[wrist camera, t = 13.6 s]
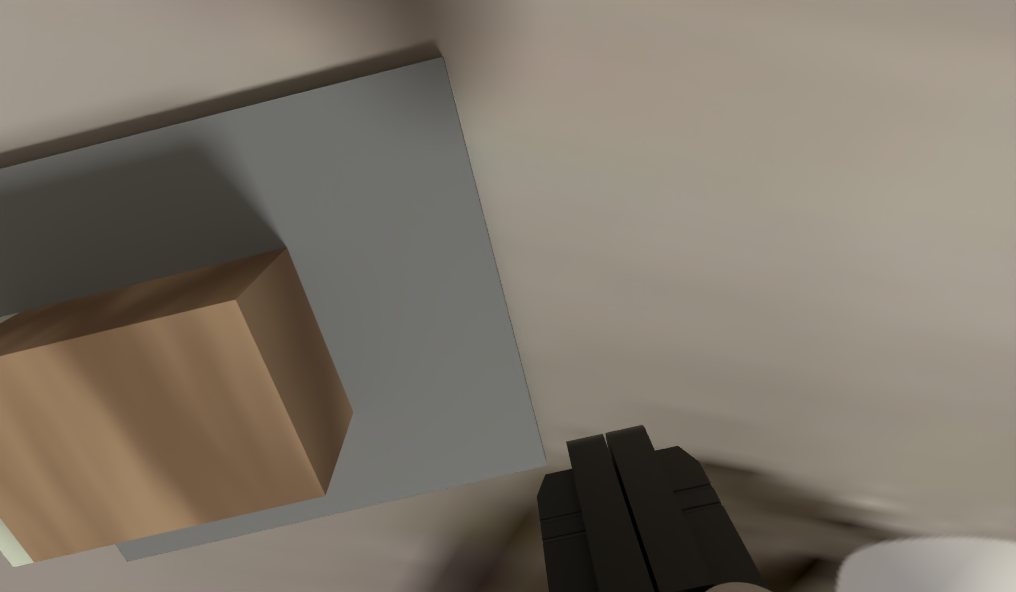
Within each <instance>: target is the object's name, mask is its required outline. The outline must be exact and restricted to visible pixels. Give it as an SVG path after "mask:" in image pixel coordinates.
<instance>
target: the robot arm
mask: <svg viewBox="0 0 1016 592" xmlns="http://www.w3.org/2000/svg"><path fill="white" fill-rule="evenodd" d="M606 441H607V445H606V442H605V438H604V436H603V434H599V435H595V436H590V437H586V438H581V439H576V440H572V441H567V442H566V443H567V447H568V452H569V457H570V461H571V466H572V469H569V470H565V471H560V472H555V473H551V474H546V475H545V477H544V480H543V482H542V485H541V487H540V490H539V493H538V495H537V501H538V508H539V516H540V522H541V532H542V540H543V548H544V556H545V564H546V572H547V580H548V588H549V592H773V591H772V590H771V589H770V588H769V587H768V585H767V584H766V583H765V581H764V580H763V578H762V577H761V575H760V573H759V571H758V569H757V567H756V566H755V564H754V562H753V560H752V558H751V556H750V555H749V553H748V551H747V549H746V547H745V545H744V544H743V542H742V540H741V538H740V536H739V534H738V532H737V531H736V529H735V527H734V525H733V523H732V521H731V520H730V518H729V516H728V514H727V512H726V510H725V509H724V507H723V506H722V505H721V501H720V499H719V498H718V496H717V494H716V492H715V490H714V488H712V486H711V483H710V481H709V479H708V477H707V475H706V474H705V472H704V470H703V468H702V466H701V464H700V463H699V461H697V460H696V459H695V458H693V457H692V456H691V455H689V454H688V453H687V452H685V451H684V450H683V449H682V448H680V447H679V446H675V447H670V448H666V449H661V450H656V451H655V450H654V448H653V445H652V443H651V441H650V439H649V436H648V434H647V432H646V430H645V428H644V426H643V425H640V426H635V427H631V428H626V429H622V430H617V431H612V432H608V433H606ZM607 446H608V448H607Z"/></svg>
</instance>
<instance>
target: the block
mask: <svg viewBox="0 0 1016 592" xmlns="http://www.w3.org/2000/svg"><path fill="white" fill-rule="evenodd" d="M352 415H353V410H352V407H351V405H350V402H349V400H348V397H347V395H346V392H345V390H344V387H343V385H342V383H341V380H340V378H339V375H338V373H337V370H336V368H335V365H334V363H333V360H332V358H331V355H330V353H329V350H328V348H327V345H326V343H325V340H324V338H323V335H322V333H321V330H320V328H319V325H318V323H317V321H316V318H315V316H314V313H313V311H312V308H311V306H310V303H309V301H308V298H307V296H306V293H305V291H304V288H303V286H302V283H301V281H300V278H299V276H298V273H297V271H296V268H295V266H294V263H293V261H292V258H291V256H290V254H289V251H288V249H287V248H283V249H279V250H275V251H271V252H267V253H263V254H259V255H254V256H250V257H246V258H242V259H238V260H234V261H230V262H226V263H221V264H217V265H213V266H209V267H205V268H201V269H197V270H193V271H188V272H184V273H180V274H176V275H172V276H168V277H164V278H160V279H155V280H151V281H147V282H143V283H139V284H135V285H131V286H127V287H122V288H118V289H114V290H110V291H106V292H102V293H98V294H93V295H89V296H85V297H81V298H77V299H73V300H69V301H65V302H60V303H56V304H52V305H48V306H44V307H40V308H36V309H32V310H27V311H23V312H19V313H15V314H11V315H7V316H3V317H0V551H1V552H2V553H3V554H4V556H5V557H6V558H7V559H8V561H9V562H10V563H11V564H12V566H13V567H16V566H20V565H25V564H29V563H33V562H38V561H42V560H47V559H51V558H55V557H60V556H64V555H69V554H73V553H77V552H82V551H86V550H90V549H95V548H99V547H104V546H108V545H112V544H117V543H121V542H126V541H130V540H134V539H139V538H143V537H148V536H152V535H156V534H161V533H165V532H169V531H174V530H178V529H183V528H187V527H191V526H196V525H200V524H205V523H209V522H213V521H218V520H222V519H226V518H231V517H235V516H240V515H244V514H248V513H253V512H257V511H262V510H266V509H270V508H275V507H279V506H284V505H288V504H292V503H297V502H301V501H305V500H310V499H314V498H319V497H323V496H326V493H327V490H328V487H329V484H330V481H331V478H332V475H333V472H334V469H335V466H336V463H337V460H338V457H339V454H340V451H341V448H342V445H343V442H344V439H345V436H346V433H347V430H348V427H349V424H350V421H351V418H352Z"/></svg>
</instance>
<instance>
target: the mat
mask: <svg viewBox="0 0 1016 592" xmlns="http://www.w3.org/2000/svg"><path fill="white" fill-rule="evenodd" d="M283 248H287V249H288V251H289V254H290V256H291V258H292V261H293V263H294V266H295V268H296V271H297V273H298V276H299V278H300V281H301V283H302V286H303V288H304V291H305V293H306V296H307V298H308V301H309V303H310V306H311V308H312V311H313V313H314V316H315V318H316V321H317V323H318V325H319V328H320V330H321V333H322V335H323V338H324V340H325V343H326V345H327V348H328V350H329V353H330V355H331V358H332V360H333V363H334V365H335V368H336V370H337V373H338V375H339V378H340V380H341V383H342V385H343V387H344V390H345V392H346V395H347V397H348V400H349V402H350V405H351V407H352V410H353V415H352V418H351V421H350V424H349V427H348V430H347V433H346V436H345V439H344V442H343V445H342V448H341V451H340V454H339V457H338V460H337V463H336V466H335V469H334V472H333V475H332V478H331V481H330V484H329V487H328V490H327V493H326V496H323V497H319V498H314V499H310V500H305V501H301V502H297V503H292V504H288V505H284V506H279V507H275V508H270V509H266V510H262V511H257V512H253V513H248V514H244V515H240V516H235V517H231V518H226V519H222V520H218V521H213V522H209V523H205V524H200V525H196V526H191V527H187V528H183V529H178V530H174V531H169V532H165V533H161V534H156V535H152V536H148V537H143V538H139V539H134V540H130V541H126V542H121V543H117V544H115V545H116V546H117V548H118V549H119V551H120V552H121V554H122V555H123V556H124V558H125V559H126V561H127V562H128V561H132V560H137V559H141V558H145V557H150V556H154V555H158V554H163V553H167V552H171V551H176V550H180V549H185V548H189V547H193V546H198V545H202V544H206V543H211V542H215V541H220V540H224V539H228V538H233V537H237V536H241V535H246V534H250V533H254V532H259V531H263V530H268V529H272V528H276V527H281V526H285V525H289V524H294V523H298V522H303V521H307V520H311V519H316V518H320V517H324V516H329V515H333V514H337V513H342V512H346V511H351V510H355V509H359V508H364V507H368V506H372V505H377V504H381V503H386V502H390V501H394V500H399V499H403V498H407V497H412V496H416V495H421V494H425V493H429V492H434V491H438V490H442V489H447V488H451V487H455V486H460V485H464V484H469V483H473V482H477V481H482V480H486V479H490V478H495V477H499V476H504V475H508V474H512V473H517V472H521V471H525V470H530V469H534V468H538V467H543V466H547V462H546V457H545V453H544V450H543V446H542V442H541V438H540V434H539V430H538V426H537V422H536V418H535V414H534V410H533V406H532V403H531V399H530V395H529V391H528V387H527V383H526V379H525V375H524V371H523V367H522V363H521V360H520V356H519V352H518V348H517V344H516V340H515V336H514V332H513V328H512V324H511V320H510V317H509V313H508V309H507V305H506V301H505V297H504V293H503V289H502V285H501V281H500V277H499V273H498V270H497V266H496V262H495V258H494V254H493V250H492V246H491V242H490V238H489V234H488V230H487V227H486V223H485V219H484V215H483V211H482V207H481V203H480V199H479V195H478V191H477V187H476V183H475V180H474V176H473V172H472V168H471V164H470V160H469V156H468V152H467V148H466V144H465V140H464V137H463V133H462V129H461V125H460V121H459V117H458V113H457V109H456V105H455V101H454V97H453V93H452V90H451V86H450V82H449V78H448V74H447V70H446V66H445V62H444V58H443V57H439V58H435V59H432V60H428V61H424V62H420V63H416V64H412V65H408V66H404V67H400V68H396V69H392V70H388V71H384V72H380V73H376V74H372V75H368V76H364V77H360V78H357V79H353V80H349V81H345V82H341V83H337V84H333V85H329V86H325V87H321V88H317V89H313V90H309V91H305V92H301V93H297V94H293V95H289V96H286V97H282V98H278V99H274V100H270V101H266V102H262V103H258V104H254V105H250V106H246V107H242V108H238V109H234V110H230V111H226V112H222V113H218V114H215V115H211V116H207V117H203V118H199V119H195V120H191V121H187V122H183V123H179V124H175V125H171V126H167V127H163V128H159V129H155V130H151V131H147V132H143V133H140V134H136V135H132V136H128V137H124V138H120V139H116V140H112V141H108V142H104V143H100V144H96V145H92V146H88V147H84V148H80V149H76V150H72V151H69V152H65V153H61V154H57V155H53V156H49V157H45V158H41V159H37V160H33V161H29V162H25V163H21V164H17V165H13V166H9V167H5V168H1V169H0V317H3V316H7V315H11V314H15V313H19V312H23V311H27V310H32V309H36V308H40V307H44V306H48V305H52V304H56V303H60V302H65V301H69V300H73V299H77V298H81V297H85V296H89V295H93V294H98V293H102V292H106V291H110V290H114V289H118V288H122V287H127V286H131V285H135V284H139V283H143V282H147V281H151V280H155V279H160V278H164V277H168V276H172V275H176V274H180V273H184V272H188V271H193V270H197V269H201V268H205V267H209V266H213V265H217V264H221V263H226V262H230V261H234V260H238V259H242V258H246V257H250V256H254V255H259V254H263V253H267V252H271V251H275V250H279V249H283Z"/></svg>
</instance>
